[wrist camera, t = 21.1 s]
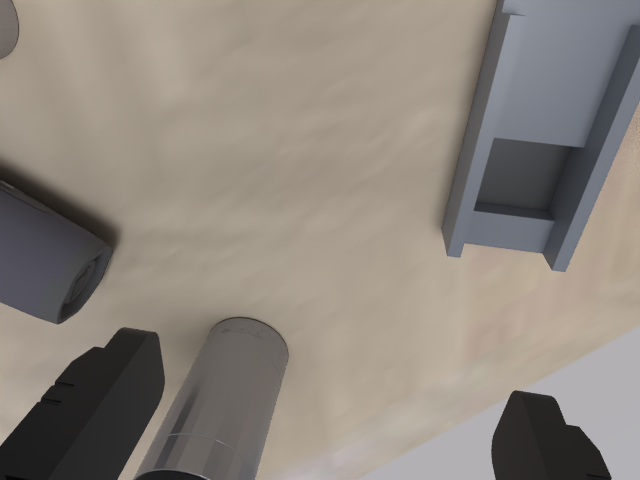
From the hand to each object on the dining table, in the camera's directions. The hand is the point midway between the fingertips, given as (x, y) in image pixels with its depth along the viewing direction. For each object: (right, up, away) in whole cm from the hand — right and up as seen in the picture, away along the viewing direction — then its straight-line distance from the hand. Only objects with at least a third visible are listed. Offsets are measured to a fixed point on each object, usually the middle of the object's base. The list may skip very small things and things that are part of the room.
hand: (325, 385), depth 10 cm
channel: (+16, +15, +22) cm, 31 cm away
